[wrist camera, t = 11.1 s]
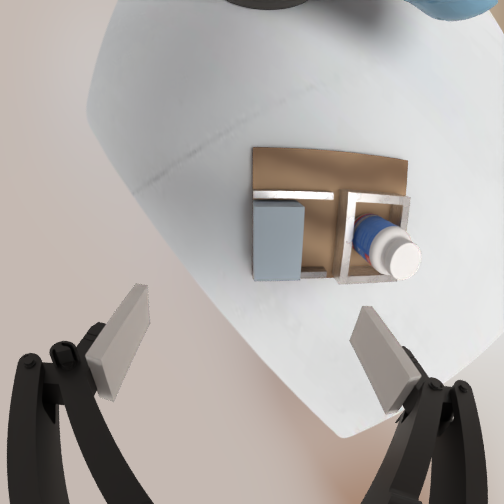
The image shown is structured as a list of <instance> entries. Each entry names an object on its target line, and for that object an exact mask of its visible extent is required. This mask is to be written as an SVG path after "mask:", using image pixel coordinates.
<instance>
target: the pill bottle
mask: <svg viewBox="0 0 504 504" xmlns="http://www.w3.org/2000/svg"><path fill="white" fill-rule="evenodd" d="M352 248H353V249H354V250H355V251H356V252H357V253H358V254H359V255H361V256H362V257H363V258H364V259H365V260H366V261H367V262H368V263H369V264H370V265H371V266H372V267H373V268H374V269H376V270H377V271H378V272H379V273H381V274H384V275H392V276H393V277H394V278H396V279H398V280H406V279H408V278H410V277H411V276H413V275H414V274H415V273H416V271H417V270H418V268H419V266H420V263H421V251H420V249H419V247H418V246H417V245H416V244H415V243H413V242H412V240H411V237H410V235H409V234H408V233H407V232H406V231H405V230H404V229H402V228H400V227H398V226H397V225H395V224H393V223H391V222H389V221H387V220H385V219H383V218H382V217H380V216H378V215H376V214H372V213H365V214H362V215H360V216H359V217H357V218H356V219H355V220H354V230H353V239H352Z"/></svg>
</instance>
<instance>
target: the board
mask: <svg viewBox="0 0 504 504" xmlns="http://www.w3.org/2000/svg"><path fill="white" fill-rule="evenodd" d="M407 169H408V161H407V160H401V159H395V158H389V157H382V156H375V155H367V154H359V153H349V152H339V151H328V150H315V149H298V148H268V147H253V189H288V190H320V191H331V192H333V193H334V197H333V200H328V199H293V198H253V200H297V201H298V202H299V203H300V204H302V205H303V206H304V207H305V212H304V231H303V248H302V262H301V267H324V268H325V269H326V271H327V276H326V278H334V277H333V275H332V268H333V260H334V250H335V241H336V230H337V218H338V204H339V189H349V190H364V191H376V192H388V193H398V194H401V195H405V196H406V184H407ZM390 209H391V204H383V203H368V202H356V209H355V219H356V218H357V217H359V216H360V215H362V214H365V213H372V214H376V215H378V216H380V217H382V218H383V219H385V220H387V221H389V218H390ZM355 266H371V265H370V264H369V263H368V262H367V261H366V260H365V259H364V258H363V257H362V256H361V255H359V254H358V253H357V252H356V251H355V250H354V249H353V248H351V256H350V263H349V267H355ZM252 276H253V254H252ZM300 279H302V278H300Z"/></svg>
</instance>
